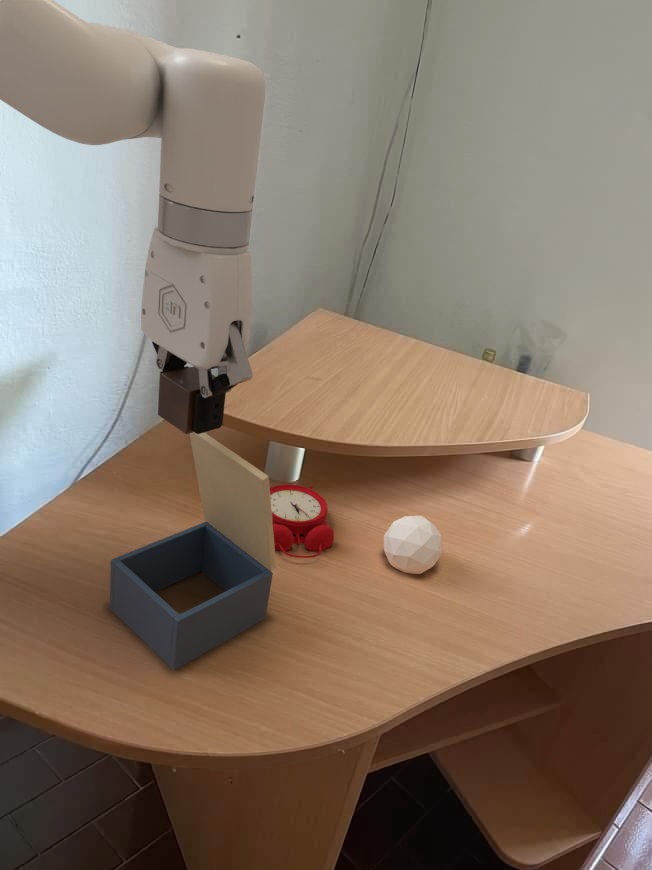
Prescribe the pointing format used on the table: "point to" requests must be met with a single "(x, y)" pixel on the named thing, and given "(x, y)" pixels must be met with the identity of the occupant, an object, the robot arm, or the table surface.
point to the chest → (176, 561)
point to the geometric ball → (412, 544)
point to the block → (179, 397)
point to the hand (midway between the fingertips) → (190, 416)
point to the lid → (235, 498)
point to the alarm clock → (299, 519)
